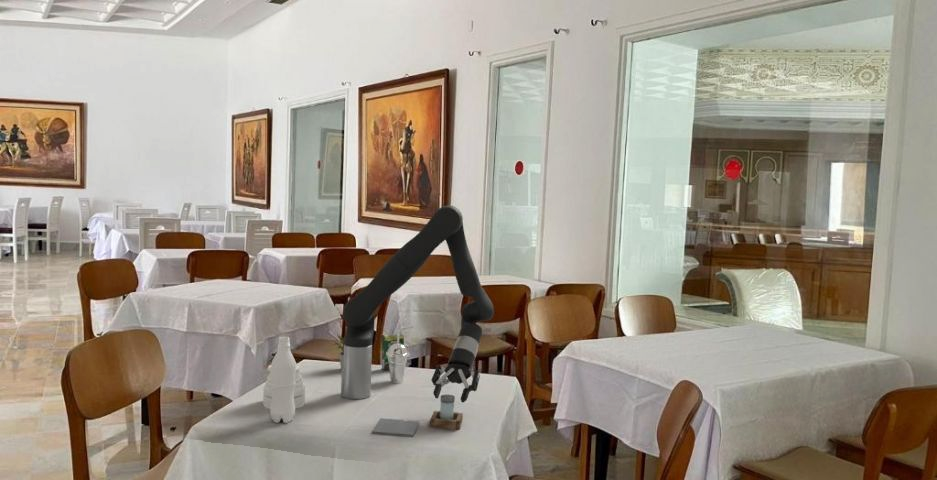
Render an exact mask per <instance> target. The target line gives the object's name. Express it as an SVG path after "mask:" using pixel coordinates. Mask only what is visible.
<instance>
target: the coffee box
mask: <svg viewBox="0 0 937 480" xmlns="http://www.w3.org/2000/svg"><path fill="white" fill-rule="evenodd" d="M381 339H382V341H381V342H382V343H381V354H382V355H381V370H383V371H390V370H389V361H388V356H387V355H386V352H387V351H388V350H389V348H390V346H391V345H393V344H395V343H397V334H391V335H390V334H389V335H387V334H386V335H382V338H381ZM399 343H401V344H403V345H404V346H405V336H404V334H402V333H401V334H400V333H399Z"/></svg>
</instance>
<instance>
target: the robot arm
mask: <svg viewBox="0 0 937 480" xmlns="http://www.w3.org/2000/svg"><path fill="white" fill-rule="evenodd" d="M463 220H464V218H463V215H462V212H461V211H460V209H459V208H457V206H454V205H444V206H443V205H442V206H441V207H439V208H438V209H437V210H436V211H434V214H433V215H432V217H431V218H430V219H429V220H428V222H427V223H426V224H425V226H424V227H423V228H422V229H420V231H419V232H418V233H417V234H416V235H415V236H414V237H412V238H411V239H409V241H407V242H406V243H405V244H404V245H403V246H401V247H400V248H399V249H398V250H397V251H396V252H395V253H394V254H392V256H391V257H390V258H389V259H388V260H387V261H386V262H385V264H384V265H383V266H381V268H380V270H378V271H377V273H376V275H375V276H374V277H373V279H371V281H370V282H369V283H368V285H366V286H365V287H364V288H363V289H362V290H361V291H360V292H358V293H357V294H356V295H354V297H352V298H350V299H349V300H348V301H347V302H346V303H345V305H344V307H343V311H342V315H343V319H344V321H345V323H346V327H347V329H346V328H345V331H346V334H345V333H344V338H343V340H344V346H343V347H344V365H343V368H342V370H341V377H340V379H341V383H340V387H341V388H340V397H341V398H346V399H350V400H351V399H353V400H359V399H360V400H363V399H367V398H369V397H371V392H372V390H371V389H372V363H373V361H372V359H373V340H374V339H373V338H374V332H375V318H376V317H375V315H376V311H377V310H378V308H379V307H380V306H381V305H382V304H383V302H384V301H385V300H386V299H388V298H389V297H390V296H392V294H394V293H396V291H398V290H399V289H401V288H402V287H403V286H404V285H406V283H407V282H408V281H409V280H410V279H412V277H414V275H416V273H417V272H418V271H419V270H420V269H421V268H422V267H423V265H424V264H425V263H426V261H427V260H428V259H429V257H430V256H431V255H432V253H433V252H434V251H435V250H436V249H437V248H438V247H439V246H440V245H441V244H442V243H443V242H444V241H445V242H446V245H447V248H448V251H449V255H450V258H451V264H452V269H453V272H454V277H455V279H456V282H457V285H458V288H459V291H460V294H461V295H462V296H463V297H469V298H471V299H472V300H473V301H469V302H467V303H465V305H464V306H463V307H462V309H461V315H460V316H461V318H460V319H461V321H460V330H459V334H458V336H457V339H456V341H455V342H454V346H453V349H452V352H451V354H450V357H449V360H448V364H447V366H446V367H443V366H441V365H440V364H438V365H437V366H436V367H435V370H434V373H433V375H432V378H431V382H432V385H433V386H434V390H433V396H434V399H439V398H440V394H441V392H442V387H444V386H446V385H448V384H450V383H451V384H455V383H456V384H458V385H460V384H463V386H464V388H463V390H462V393H461V396H460V401H461V403H462V404H463V403H465V402H466V401H467V400H468V398H469V394H470V392H472V391H473V392H477V390H478V387H479V386H478V385H479V382H480V377H481V374H480V372H479V370H478V369H476V370H475V371H473V370H472V369H473V367H474V362H475V360H476V357H477V355H478V349H479V346H480V342H481V339H482V335H483V329H482V327H481V326H480V325H479V324H477V323H483V322H487V321H491V319H492V318H493V317H494V314H495V307H494V305H493V302H492V300H491V298H490V297H489V296H488V294H487V292H486V290H485V289H484V287H482V285H481V281H480V278H479V275H478V272H477V270H476V267H475V264H474V261H473V259H472V255H471V253H470V250H469V247H468V242H467V240H466V234H465V229H464V222H463ZM470 377H472V381H471V384H469V383H468V380H467V379H469V378H470Z"/></svg>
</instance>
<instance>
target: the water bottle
mask: <svg viewBox="0 0 937 480" xmlns="http://www.w3.org/2000/svg"><path fill="white" fill-rule="evenodd" d="M278 346H279V348H278ZM290 346H291V343H290V337H289V336H279V337H278V344H277V352H275V355H274V356H273V359H272V361H271V364H270V365H271V367H272V368H271V369H272V370H271V390H272V403H271V407H270V409H269V414H270V417H271V419H272V421H273V422H274V423H276V424H279V423H280V422H281V420H282V421H283V423H284V424H287V423H290V422H291V421H293V419H294V418H295V414H296V409H295V404H294V390H295V386H296V382H295V373H296V364H297V362H296V360H295V358H294V355H293V352H291V351H292V350H291V348H290Z"/></svg>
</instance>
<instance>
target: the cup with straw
mask: <svg viewBox="0 0 937 480" xmlns="http://www.w3.org/2000/svg"><path fill="white" fill-rule="evenodd" d="M409 329H414V326H413V325H410V326H405V327H401V328H398V330H397V332H396V333H397V334H396V335H397V343H395V344H393V345H391V346H390V348H389V350H388V351H387V352H386V355H387V356H388V361H389V370H388V371H389V379H390V383H393V384H402V383H403V382H404V378H405V372H406V371H405V370H406V365H407V361H408V357H409V356H410V355H411V354H410V352H409V351H408V349H407V347H406V346H405V344H404V345H403V344H401V343H399V334H400V332H401V331H403V330H405V331H406V330H409Z"/></svg>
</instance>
